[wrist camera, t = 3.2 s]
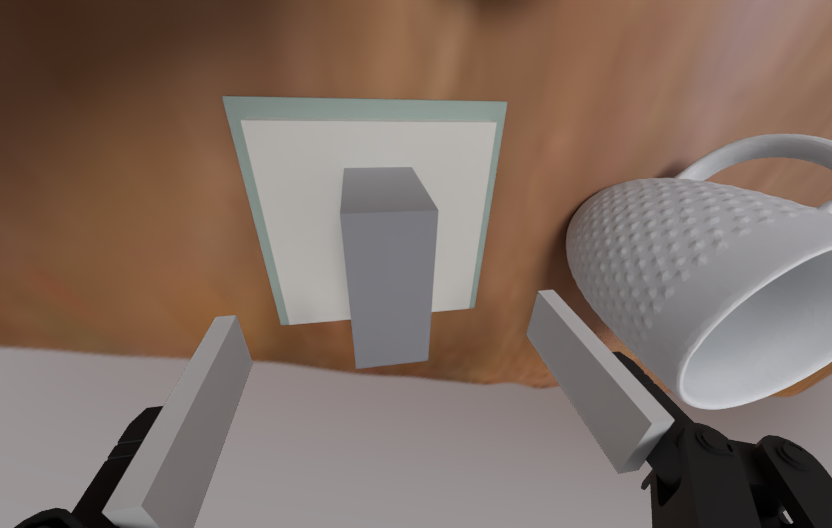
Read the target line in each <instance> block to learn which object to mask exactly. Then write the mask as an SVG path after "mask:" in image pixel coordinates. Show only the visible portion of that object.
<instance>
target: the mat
mask: <svg viewBox="0 0 832 528" xmlns="http://www.w3.org/2000/svg"><path fill="white" fill-rule="evenodd" d="M222 99H223V102H224V106H225V110H226V114H227V118H228V122H229V126H230V129H231V133H232V137H233V141H234V145H235V149H236V153H237V157H238V160H239V164H240V168H241V172H242V176H243V180H244V184H245V187H246V191H247V195H248V199H249V203H250V207H251V211H252V214H253V218H254V222H255V226H256V230H257V234H258V238H259V241H260V245H261V249H262V253H263V257H264V261H265V265H266V268H267V272H268V276H269V280H270V284H271V288H272V292H273V295H274V299H275V303H276V307H277V311H278V315H279V319H280V323H281V325H290V324H289V320H288V316H287V312H286V308H285V303H284V299H283V295H282V291H281V287H280V283H279V278H278V274H277V270H276V266H275V262H274V258H273V254H272V249H271V245H270V241H269V237H268V233H267V229H266V224H265V220H264V216H263V212H262V208H261V204H260V199H259V195H258V191H257V187H256V183H255V179H254V174H253V170H252V166H251V162H250V158H249V154H248V149H247V145H246V141H245V137H244V133H243V129H242V124H241V120H243V119H245V118H350V119H455V120H491V121H494V122H497V125H496V131H495V138H494V145H493V152H492V158H491V165H490V172H489V178H488V185H487V192H486V198H485V205H484V212H483V219H482V225H481V232H480V239H479V245H478V252H477V259H476V265H475V272H474V279H473V286H472V292H471V299H470V306H469V308H474V307H475V301H476V295H477V289H478V282H479V276H480V270H481V264H482V257H483V251H484V245H485V239H486V232H487V226H488V220H489V214H490V208H491V201H492V195H493V189H494V183H495V176H496V170H497V164H498V158H499V151H500V145H501V139H502V133H503V126H504V120H505V114H506V108H507V102H505V101H462V100H411V99H361V98H310V97H259V96H222Z"/></svg>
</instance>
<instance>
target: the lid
mask: <svg viewBox="0 0 832 528" xmlns="http://www.w3.org/2000/svg"><path fill="white" fill-rule="evenodd" d="M241 124H242V129H243V133H244V137H245V141H246V145H247V149H248V154H249V158H250V162H251V166H252V170H253V174H254V179H255V183H256V187H257V191H258V195H259V199H260V204H261V208H262V212H263V216H264V220H265V224H266V229H267V233H268V237H269V241H270V245H271V249H272V254H273V258H274V262H275V266H276V270H277V274H278V278H279V283H280V287H281V291H282V295H283V299H284V303H285V308H286V312H287V316H288V320H289V324H290V325H294V324H305V323H316V322H327V321H338V320H349V319H351V325H352V334H353V344H354V354H355V363H356V369H360V368H368V367H377V366H386V365H394V364H403V363H411V362H420V361H428V354H429V340H430V326H431V312H437V311H448V310H459V309H469V306H470V299H471V292H472V286H473V279H474V272H475V265H476V259H477V252H478V245H479V239H480V232H481V225H482V219H483V212H484V205H485V198H486V192H487V185H488V178H489V172H490V165H491V158H492V152H493V145H494V138H495V131H496V125H497V122H494V121H491V120H455V119H350V118H245V119H243V120H241Z"/></svg>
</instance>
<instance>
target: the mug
mask: <svg viewBox="0 0 832 528" xmlns="http://www.w3.org/2000/svg"><path fill="white" fill-rule="evenodd" d="M768 157H785V158H795V159H802V160H806V161H810V162H813V163H816V164H819V165H822V166H825V167H827V168H829V169H831V170H832V140H828V139H825V138H820V137H815V136H808V135H799V134H769V135H761V136H755V137H750V138H745V139H740V140H738V141H735V142H732V143H730V144H727V145H725V146H723V147H720V148H718V149H716V150H714V151H712V152H710V153H709V154H707V155H705V156H704V157H702V158H700V159H699V160H697V161H695V162H694V163H693V164H691V165H690V166H688V167H687V168H686V169H684V170H683V171H682V172H681V173H679V174H678V175H677V176H675V177H674V178H648V179H636V180H633V181H628V182H623V183H619V184H616V185H613V186H610V187H608V188H605V189H603V190H601V191H599V192H598V193H596V194H595V195H593V196H592V197H590V198H589V199H588V200H587V201H586V202H584V203H583V204H582V205H581V207H580V208H579V209H578V210H577V212H576V213H575V214H574V216H573V218H572V220H571V222H570V224H569V226H568V229H567V235H566V253H567V259H568V265H569V268H570V270H571V272H572V276H573V278H574V279H575V281H576V283H577V287H578V288H579V289H580V290H581V291H582V294H583V296H584V298H585V300H586V301H587V302H588V303H589V304H590V306H591V307H592V309H593V310H594V311H595V312H596V313H597V314H598V315H599V317H600V318H601V320H602V321H603V322H604V323H605V324H606V325H607V326H608V327H609V328H610V329H611V330H612V331H613V333H614V334H615V335H616V336H617V337H618V338H619V339H620V340H621V341H622V342H623V343H624V345H626V346H627V348H628V349H629V350H630V351H632V352H633V353H634V354H635V356H637V357H638V358H639V360H640V361H641V362H642V363H643V364H644V365H645V366H646V367H647V368H648V369H649V370H651V371H652V372H653V373H654V374H655V375H656V376H657V377H658V378H659V379H660V380H661V381H662V382H663V383H664V384H665V385H666V386H667V387H668V388H669V389H670V390H671V391H672V392H673V393H674V394H675V395H676V396H677V397H678V398H680V399H681V400H682V401H683V402H685V403H686V404H688V405H690V406H693V407H696V408H701V409H724V408H731V407H735V406H740V405H743V404H746V403H750V402H753V401H756V400H758V399H761V398H764V397H767V396H769V395H771V394H774V393H776V392H779V391H781V390H783V389H785V388H787V387H789V386H791V385H793V384H795V383H797V382H799V381H801V380H802V379H804V378H806V377H808V376H810V375H811V374H813V373H815V372H816V371H818V370H819V369H821V368H823V367H824V366H826V365H827V364H829V363H830V362H832V199H831V200H829V201H827V202H826V203H824V204H822V205H820V206H818V207H816V208H814V207H809V206H804V205H801V204H798V203H795V202H793V201H791V200H785V199H782V198H780V197H774V196H769V195H766V194H763V193H761V192H758V191H751V190H746V189H741V188H738V187H734V186H732V185H723V184H716V183H713V182H707V181H705V180H706V179H708V178H709V177H711V176H712V175H714V174H715V173H717V172H718V171H720V170H722V169H724V168H727V167H729V166H731V165H734V164H736V163H740V162H743V161H747V160H752V159H758V158H768Z"/></svg>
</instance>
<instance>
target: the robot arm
mask: <svg viewBox="0 0 832 528" xmlns="http://www.w3.org/2000/svg"><path fill="white" fill-rule="evenodd" d="M526 336H527V337H528V339H529V340H530V342H531V343H532V345H533V346H534V348H535V349H536V351H537V352H538V354H539V355H540V357H541V358H542V360H543V361H544V363H545V364H546V366H547V367H548V369H549V370H550V372H551V373H552V375H553V376H554V378H555V379H556V381H557V382H558V384H559V385H560V387H561V388H562V390H563V391H564V393H565V394H566V396H567V397H568V399H569V400H570V402H571V403H572V405H573V406H574V408H575V409H576V411H577V412H578V414H579V415H580V417H581V418H582V420H583V421H584V423H585V424H586V426H587V427H588V429H589V430H590V432H591V433H592V435H593V436H594V438H595V439H596V441H597V442H598V444H599V445H600V447H601V448H602V450H603V451H604V453H605V454H606V456H607V457H608V459H609V460H610V462H611V464H612V465H613V467H614V468H615V470H616V471H617V473H618V474H619V473H625V472H630V471H636V470H639V469H640V467H641V466H642V464H643V463H644V462H645V460H646V461H647V462H648V463H649V464H650V466H651V467H652V468H653V469H652V471H651V472H650V473H649V475H648V476H647V477H646V478H645V480H644V481H643V483H642V486H641V489H643V490H645V489H646V488H647V487H648V485H649V484H650V485H651V507H652V525H653V526H652V528H832V478H831V476H830V475H829V474H828V472H827V471H826V470H825V469H824V467H823V466H822V465H821V464H820V463H819V462H818V461H817V459H816V458H814V456H813V455H811V454H810V453H808V452H807V451H806V450H805V449H803V448H802V447H800V446H799V445H797V444H795V443H793V442H791V441H790V440H787V439H784V438H781V437H779V436H772V435H768V436H765V437H763V438H762V439H761V440H760V441H759V442H758V443H757V444H752V443H746V442H740V441H734V440H729V439H728V438H727V437H725V436H724V435H723V434H721V433H720V432H719V431H717V430H715V429H713V428H711V427H709V426H707V425H703V424H700V423H694V422H693V421H692V420H691V419H690V418H689V417H688V416H687V415H686V414H685V413H684V412H683V411H682V410H681V409H680V408H679V407H678V406H677V405H676V404H675V403H674V402H673V401H672V400H671V399H670V398H669V397H668V396H667V395H666V394H665V393H664V392H663V391H662V390H661V389H660V388H659V387H658V386H657V385H656V384H654V383H653V381H652V380H651V379H650V378H649V376H648V375H647V374H646V375H645V374H644V371H643V370H642V369H641V368H640V367H639V366H638V365H637V364H636V363H635V362H634V361H633V360H631V359H630V358H628V357H626V356H625V355H623V354H622V353H620V352H611V351H610V350H609V349H608V348H607V347H606V346H605V345H604V344H603V343H602V341H601V340H600V339H599V338H598V337H597V336H596V335H595V334H594V333H593V332H592V331H591V330H590V329H589V328H588V326H587V325H586V324H585V323H584V322H583V321H582V320H581V319H580V318H579V317H578V316H577V315H576V314H575V313H574V311H573V310H572V309H571V308H570V307H569V306H568V305H567V304H566V303H565V302H564V301H563V300H562V299H561V298H560V296H559V295H558V294H557V293H556V292H555V291H554V290H543V291H538V293H537V297H536V301H535V304H534V308H533V312H532V315H531V319H530V323H529V326H528V330H527V334H526ZM252 364H253V363H252V360H251V357H250V354H249V351H248V348H247V345H246V342H245V339H244V336H243V333H242V330H241V327H240V324H239V321H238V318H237V315H233V316H220V317H215V319H214V321H213V323H212V324H211V326H210V328H209V329H208V331H207V333H206V335H205V336H204V338H203V340H202V341H201V343H200V345H199V347H198V348H197V350H196V352H195V353H194V355H193V357H192V359H191V360H190V362H189V364H188V365H187V367H186V369H185V371H184V372H183V374H182V376H181V377H180V379H179V381H178V383H177V384H176V386H175V388H174V389H173V391H172V393H171V395H170V396H169V398H168V400H167V401H166V403H165V405H164V406H159V407H151V408H146V409H145V410H144V411H143V412H142V413H141V414H140V415H139V416H138V417H137V418H135V420H133V421H132V422H131V423H130V424H129V426H128V427H127V429H126V430H125V432H124V433H123V435H122V436H121V438H120V439H119V441H118V445H117V446H115V447H114V449H113V450H112V452H111V453H110V455H109V456H108V460H107V461H105V462H104V464H103V465H102V467H101V469H100V470H99V472H98V473H97V475H96V476H95V478H94V479H93V481H92V482H91V484H90V485H89V487H88V488H87V490H86V491H85V493H84V495H83V496H82V498H81V499H80V501H79V502H78V504H77V506H76V507H75V508H74V510H73V511H72V513H70V512H69V511H67V510H66V509H60V508H54V509H50V510H45V511H41V512H39V513H37V514H35V515H34V516H32V517H30V518H28V519H26V520H24V521H22V522H21V523H20V524H18V525H17V526H16V527H14V528H194V525H195V522H196V520H197V517H198V514H199V511H200V508H201V506H202V503H203V500H204V497H205V495H206V492H207V489H208V486H209V483H210V481H211V478H212V475H213V472H214V470H215V467H216V464H217V461H218V458H219V456H220V453H221V450H222V447H223V445H224V442H225V439H226V436H227V433H228V430H229V427H230V425H231V422H232V419H233V417H234V414H235V411H236V408H237V406H238V403H239V400H240V397H241V394H242V391H243V389H244V386H245V383H246V381H247V378H248V375H249V372H250V369H251V366H252ZM785 510H786V511H787V512H788V514H789V516H790V517H791V519H792V521H793V523H792V524H790V522H789V521H788V520H787V519H786V517H785V515H784V514H783V512H784V511H785Z"/></svg>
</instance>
